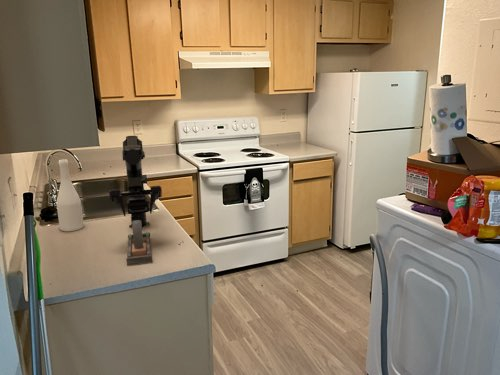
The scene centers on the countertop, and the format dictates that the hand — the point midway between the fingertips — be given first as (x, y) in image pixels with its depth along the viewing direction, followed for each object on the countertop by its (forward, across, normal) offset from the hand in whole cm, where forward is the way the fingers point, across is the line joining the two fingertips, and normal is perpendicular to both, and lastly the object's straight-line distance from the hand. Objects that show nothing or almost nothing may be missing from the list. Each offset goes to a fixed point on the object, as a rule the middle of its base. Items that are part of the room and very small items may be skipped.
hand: (137, 214), depth 150 cm
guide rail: (+12, 0, +6) cm, 14 cm away
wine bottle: (-9, -28, +34) cm, 45 cm away
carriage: (+14, -1, +2) cm, 14 cm away
